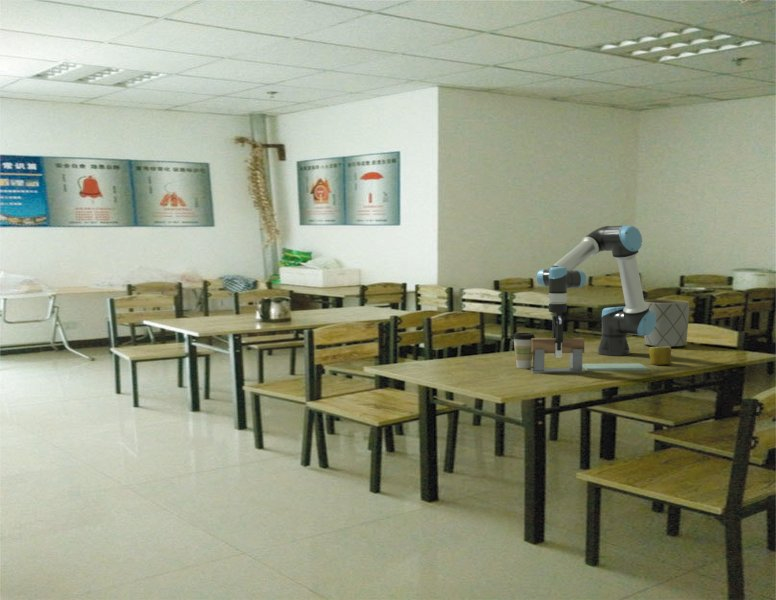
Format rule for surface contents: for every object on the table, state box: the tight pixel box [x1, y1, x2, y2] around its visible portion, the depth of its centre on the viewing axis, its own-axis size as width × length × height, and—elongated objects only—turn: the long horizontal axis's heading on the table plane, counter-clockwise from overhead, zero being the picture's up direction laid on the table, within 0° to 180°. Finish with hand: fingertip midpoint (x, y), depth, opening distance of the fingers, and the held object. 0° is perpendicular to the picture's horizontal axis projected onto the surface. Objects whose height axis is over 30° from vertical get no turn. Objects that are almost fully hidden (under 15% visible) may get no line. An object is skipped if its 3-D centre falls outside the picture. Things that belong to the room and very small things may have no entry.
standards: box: [529, 349, 586, 374], centre depth 326 cm, size 8×22×10 cm, turn 87°
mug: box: [648, 346, 672, 366], centre depth 341 cm, size 12×10×10 cm
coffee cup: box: [512, 332, 536, 370], centre depth 336 cm, size 10×10×15 cm
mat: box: [582, 363, 649, 372], centre depth 332 cm, size 12×26×1 cm, turn 87°
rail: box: [531, 337, 585, 354], centre depth 325 cm, size 4×22×6 cm, turn 87°
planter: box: [644, 299, 690, 348], centre depth 394 cm, size 23×23×24 cm
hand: (557, 356), depth 326 cm, fingers closed on rail, 4 cm apart
